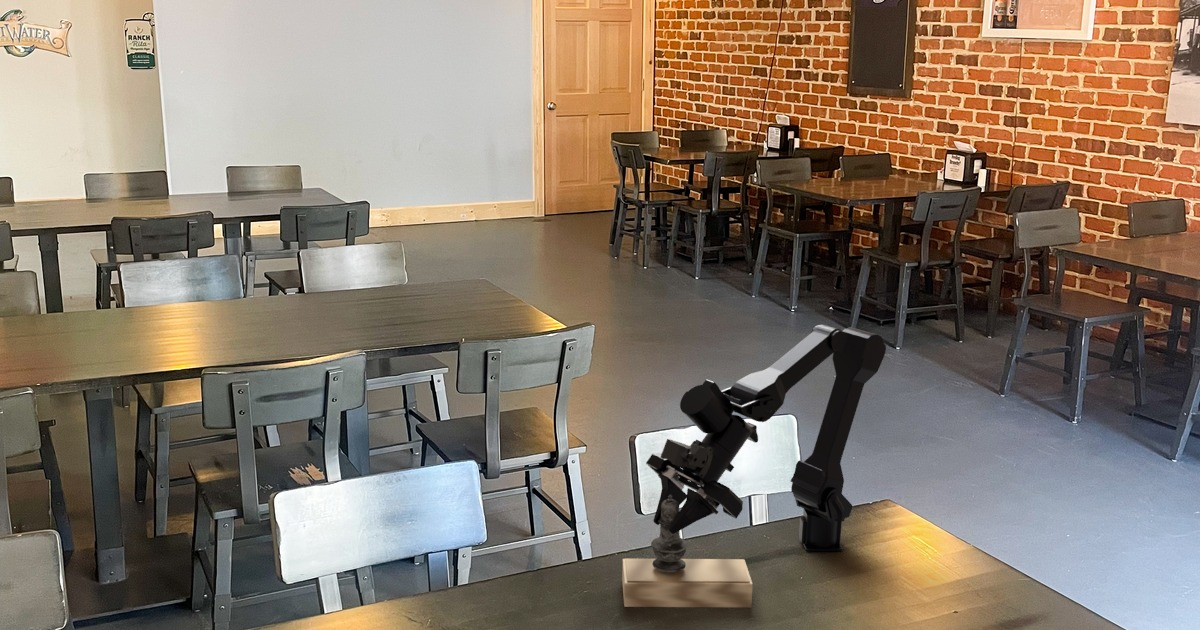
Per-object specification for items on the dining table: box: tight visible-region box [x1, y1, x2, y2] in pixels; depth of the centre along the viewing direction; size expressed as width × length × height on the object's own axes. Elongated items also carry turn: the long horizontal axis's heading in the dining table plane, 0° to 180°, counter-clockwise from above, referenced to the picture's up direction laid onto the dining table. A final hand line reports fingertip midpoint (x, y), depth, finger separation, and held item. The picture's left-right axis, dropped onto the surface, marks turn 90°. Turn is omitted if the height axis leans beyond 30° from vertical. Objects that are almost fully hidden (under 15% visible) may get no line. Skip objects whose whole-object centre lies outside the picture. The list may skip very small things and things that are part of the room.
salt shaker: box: [650, 494, 689, 572], centre depth 170 cm, size 6×6×12 cm
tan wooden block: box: [621, 558, 753, 608], centre depth 172 cm, size 20×8×4 cm, turn 91°
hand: (662, 527), depth 169 cm, fingers closed on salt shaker, 3 cm apart
